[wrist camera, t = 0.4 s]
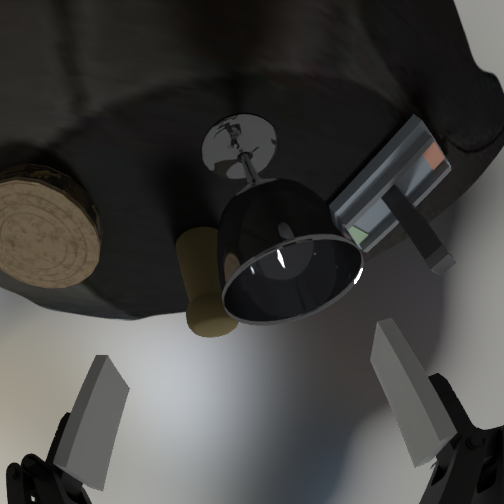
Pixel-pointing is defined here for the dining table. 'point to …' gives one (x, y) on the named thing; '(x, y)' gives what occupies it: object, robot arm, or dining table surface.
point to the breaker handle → (419, 231)
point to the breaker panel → (391, 182)
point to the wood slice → (47, 227)
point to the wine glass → (274, 232)
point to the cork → (203, 283)
